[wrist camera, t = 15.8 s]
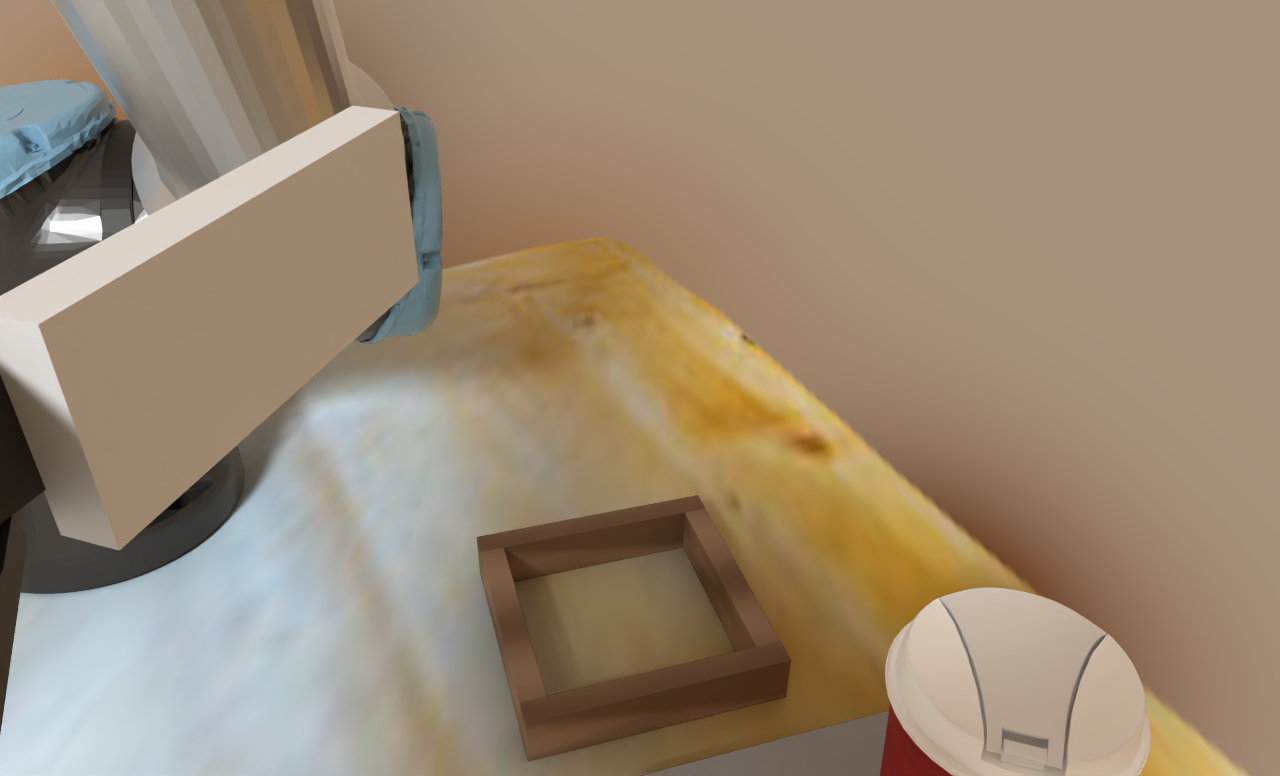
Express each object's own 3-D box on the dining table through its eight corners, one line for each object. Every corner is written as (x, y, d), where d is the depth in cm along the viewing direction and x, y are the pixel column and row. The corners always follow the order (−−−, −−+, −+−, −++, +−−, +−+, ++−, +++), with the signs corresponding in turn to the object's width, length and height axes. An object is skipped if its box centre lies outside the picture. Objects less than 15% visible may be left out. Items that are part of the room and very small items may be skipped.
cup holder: (480, 572, 54) (476, 537, 52) (695, 529, 57) (697, 495, 56) (528, 761, 44) (525, 724, 42) (785, 696, 47) (790, 660, 46)
